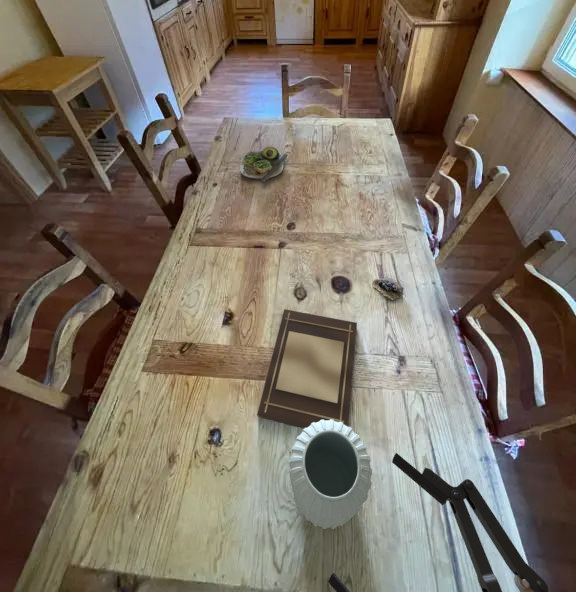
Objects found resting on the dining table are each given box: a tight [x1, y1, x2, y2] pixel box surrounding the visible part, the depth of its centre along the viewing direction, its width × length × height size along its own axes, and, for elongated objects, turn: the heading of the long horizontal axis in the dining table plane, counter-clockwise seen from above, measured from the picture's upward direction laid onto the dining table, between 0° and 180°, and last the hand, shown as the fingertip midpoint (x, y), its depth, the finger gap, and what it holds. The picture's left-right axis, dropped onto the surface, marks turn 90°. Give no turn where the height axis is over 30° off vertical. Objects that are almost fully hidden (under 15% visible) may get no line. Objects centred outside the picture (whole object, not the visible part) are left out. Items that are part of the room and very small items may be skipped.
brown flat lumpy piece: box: [372, 277, 405, 301], centre depth 89 cm, size 7×8×2 cm
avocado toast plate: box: [239, 146, 288, 183], centre depth 128 cm, size 19×18×5 cm
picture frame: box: [256, 308, 358, 430], centre depth 76 cm, size 24×18×2 cm
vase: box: [289, 419, 373, 530], centre depth 54 cm, size 12×12×22 cm
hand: (364, 512), depth 40 cm, fingers open, 13 cm apart
